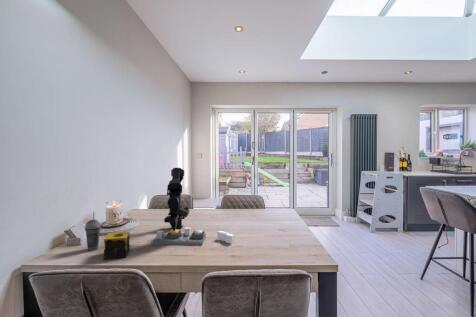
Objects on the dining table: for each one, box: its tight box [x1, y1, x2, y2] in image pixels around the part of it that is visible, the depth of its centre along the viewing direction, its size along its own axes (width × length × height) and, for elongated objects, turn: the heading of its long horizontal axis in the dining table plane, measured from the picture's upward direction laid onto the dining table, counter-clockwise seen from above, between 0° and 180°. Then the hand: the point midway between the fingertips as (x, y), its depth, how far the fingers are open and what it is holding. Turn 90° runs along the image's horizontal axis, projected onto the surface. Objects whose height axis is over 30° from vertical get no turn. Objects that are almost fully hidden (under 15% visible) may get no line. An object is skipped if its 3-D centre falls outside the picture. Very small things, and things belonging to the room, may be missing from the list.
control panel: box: [151, 230, 207, 246], centre depth 143 cm, size 13×28×4 cm, turn 89°
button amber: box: [169, 228, 180, 234], centre depth 143 cm, size 5×5×2 cm
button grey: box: [193, 229, 203, 235], centre depth 142 cm, size 5×5×2 cm
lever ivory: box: [183, 226, 192, 235], centre depth 146 cm, size 3×3×4 cm
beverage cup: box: [84, 211, 102, 252], centre depth 128 cm, size 7×7×20 cm
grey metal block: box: [156, 230, 165, 240], centre depth 139 cm, size 3×3×4 cm
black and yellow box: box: [103, 231, 131, 261], centre depth 122 cm, size 10×10×10 cm
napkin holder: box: [216, 230, 235, 245], centre depth 141 cm, size 15×11×6 cm
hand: (174, 230), depth 143 cm, fingers closed
